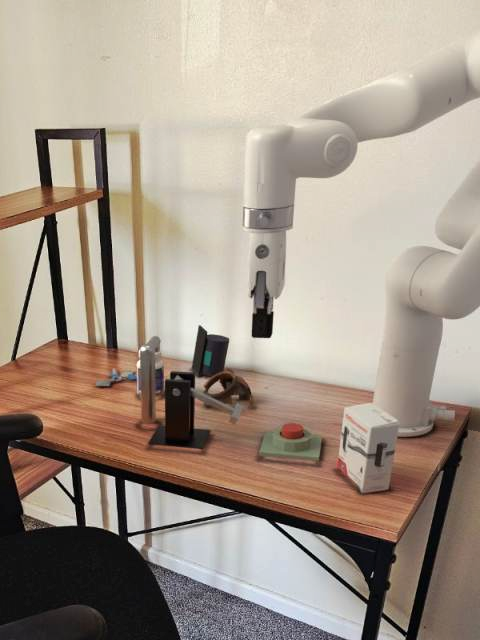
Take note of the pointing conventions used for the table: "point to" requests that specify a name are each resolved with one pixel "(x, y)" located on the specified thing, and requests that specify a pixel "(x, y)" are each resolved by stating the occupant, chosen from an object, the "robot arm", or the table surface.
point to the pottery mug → (229, 387)
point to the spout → (148, 380)
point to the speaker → (209, 353)
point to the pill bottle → (158, 375)
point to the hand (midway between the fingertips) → (261, 336)
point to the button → (292, 431)
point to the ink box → (368, 446)
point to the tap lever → (217, 404)
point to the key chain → (115, 375)
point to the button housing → (291, 446)
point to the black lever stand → (180, 415)
